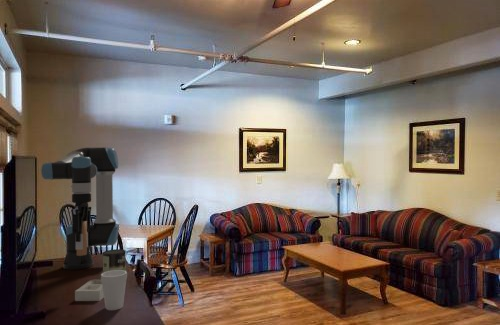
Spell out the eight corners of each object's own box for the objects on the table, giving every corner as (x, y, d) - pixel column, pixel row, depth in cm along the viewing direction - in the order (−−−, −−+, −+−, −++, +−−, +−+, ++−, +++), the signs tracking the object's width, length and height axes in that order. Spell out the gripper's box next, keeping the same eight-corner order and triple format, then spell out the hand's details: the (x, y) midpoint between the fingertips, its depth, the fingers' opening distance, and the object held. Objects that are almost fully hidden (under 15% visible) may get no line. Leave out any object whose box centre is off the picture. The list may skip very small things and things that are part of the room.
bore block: (91, 288, 170) (91, 279, 170) (114, 288, 170) (114, 279, 170) (75, 301, 154) (74, 291, 154) (99, 300, 154) (99, 290, 154)
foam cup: (101, 313, 140) (101, 278, 140) (100, 305, 149) (100, 271, 149) (128, 309, 144) (128, 274, 144) (126, 301, 153) (125, 268, 153)
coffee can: (130, 278, 184) (129, 249, 184) (118, 285, 173) (118, 254, 174) (110, 277, 186) (110, 248, 186) (98, 284, 176) (98, 253, 176)
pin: (79, 253, 164) (79, 221, 164) (88, 253, 164) (88, 220, 164) (74, 255, 160) (74, 222, 160) (84, 255, 160) (84, 222, 160)
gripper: (82, 192, 171) (82, 244, 170) (62, 194, 154) (62, 252, 153) (98, 191, 171) (99, 244, 170) (80, 194, 154) (81, 252, 153)
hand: (81, 248), depth 162 cm, fingers closed on pin, 4 cm apart
